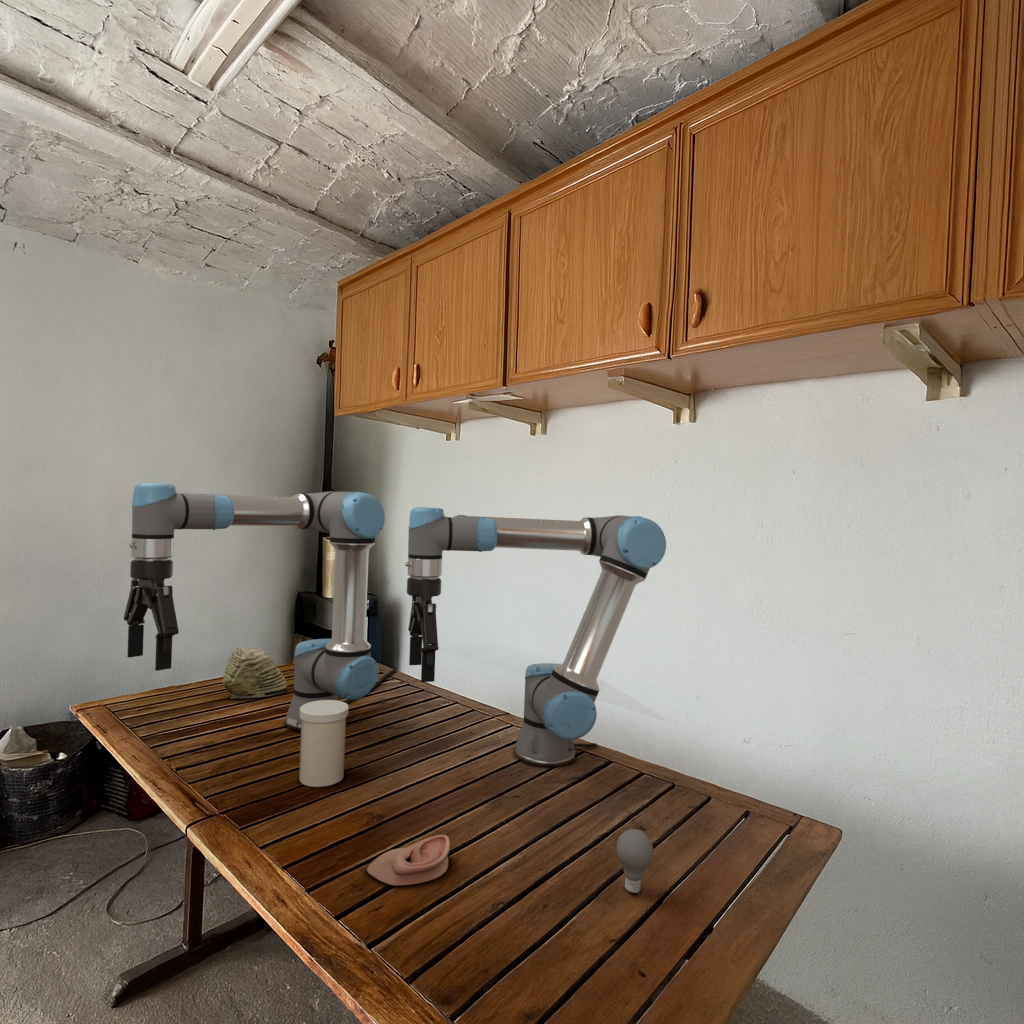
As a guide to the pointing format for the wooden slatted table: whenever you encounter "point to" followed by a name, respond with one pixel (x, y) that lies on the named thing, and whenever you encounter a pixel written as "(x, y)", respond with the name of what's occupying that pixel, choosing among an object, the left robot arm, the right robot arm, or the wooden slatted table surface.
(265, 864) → the wooden slatted table surface
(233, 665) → the fossil
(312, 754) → the jar
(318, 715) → the lid
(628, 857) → the light bulb
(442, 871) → the anatomical model
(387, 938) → the wooden slatted table surface
